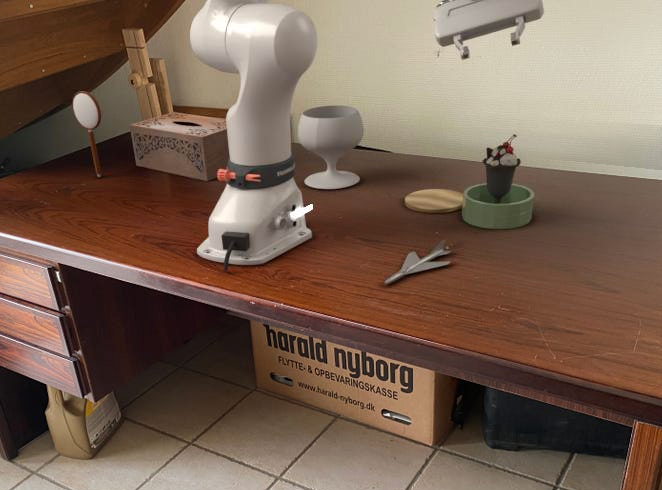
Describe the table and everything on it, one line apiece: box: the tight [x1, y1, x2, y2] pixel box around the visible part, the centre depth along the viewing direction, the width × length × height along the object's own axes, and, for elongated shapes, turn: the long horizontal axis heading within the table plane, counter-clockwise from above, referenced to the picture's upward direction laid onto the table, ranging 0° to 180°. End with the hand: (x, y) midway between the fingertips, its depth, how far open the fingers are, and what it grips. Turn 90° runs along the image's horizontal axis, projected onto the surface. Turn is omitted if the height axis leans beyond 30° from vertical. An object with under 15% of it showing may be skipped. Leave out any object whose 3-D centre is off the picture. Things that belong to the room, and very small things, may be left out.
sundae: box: [481, 133, 522, 204], centre depth 130 cm, size 7×7×15 cm
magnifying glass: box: [71, 90, 102, 178], centre depth 170 cm, size 9×2×20 cm, turn 57°
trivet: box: [404, 188, 463, 214], centre depth 143 cm, size 12×12×1 cm
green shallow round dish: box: [461, 182, 535, 230], centre depth 133 cm, size 12×13×4 cm
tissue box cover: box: [129, 111, 230, 182], centre depth 175 cm, size 26×14×10 cm, turn 48°
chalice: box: [297, 104, 365, 190], centre depth 155 cm, size 14×14×15 cm
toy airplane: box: [383, 238, 458, 286], centre depth 118 cm, size 8×21×2 cm, turn 135°
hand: (490, 50), depth 138 cm, fingers open, 8 cm apart
